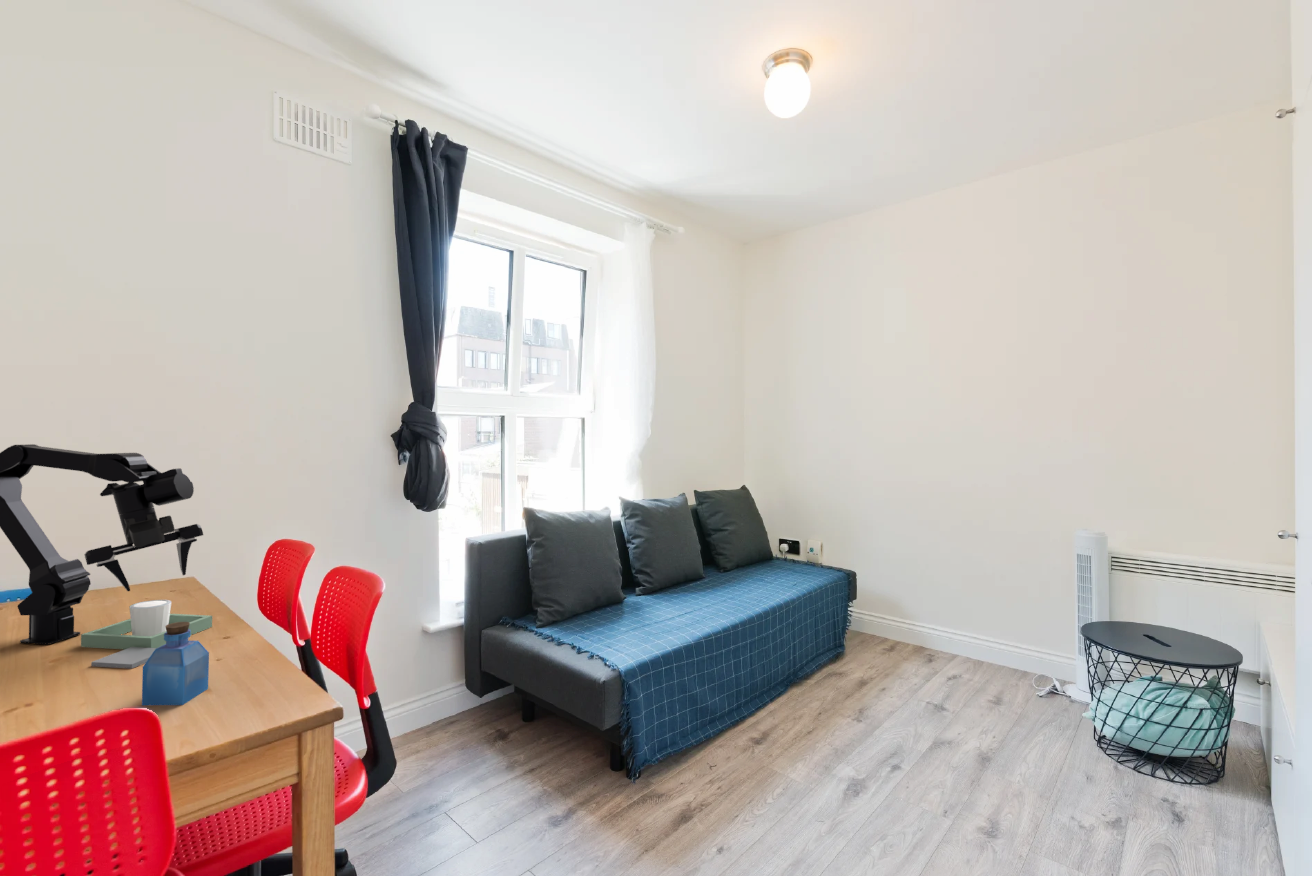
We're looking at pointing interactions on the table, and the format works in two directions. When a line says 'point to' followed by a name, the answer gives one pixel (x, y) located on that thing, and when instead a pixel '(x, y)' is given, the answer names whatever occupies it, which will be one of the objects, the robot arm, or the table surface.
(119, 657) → the slate tile
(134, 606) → the white cup
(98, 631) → the green tray
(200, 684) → the perfume bottle
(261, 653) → the table surface
